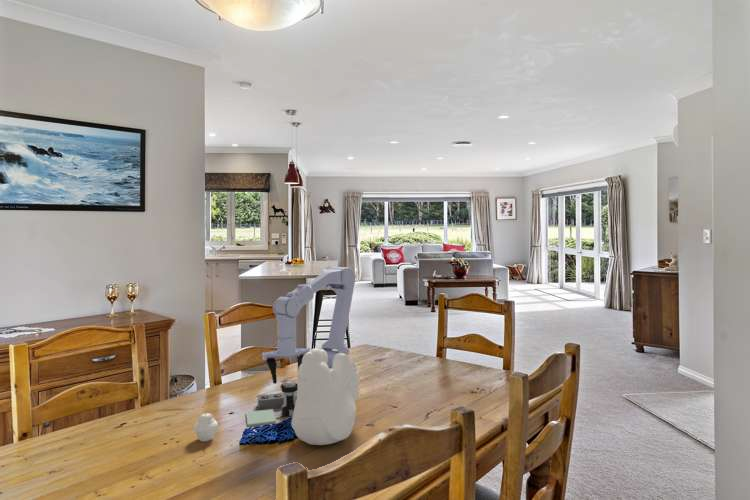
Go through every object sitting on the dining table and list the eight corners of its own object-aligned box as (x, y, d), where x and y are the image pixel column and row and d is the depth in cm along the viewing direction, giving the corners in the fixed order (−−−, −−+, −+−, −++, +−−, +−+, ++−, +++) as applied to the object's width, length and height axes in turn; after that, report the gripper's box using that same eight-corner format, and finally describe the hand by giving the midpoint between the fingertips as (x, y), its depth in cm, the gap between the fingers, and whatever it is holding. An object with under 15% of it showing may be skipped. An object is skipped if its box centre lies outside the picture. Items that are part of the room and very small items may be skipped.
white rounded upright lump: (316, 461, 112) (315, 358, 111) (278, 441, 123) (277, 348, 122) (386, 430, 130) (385, 341, 129) (347, 415, 141) (347, 334, 140)
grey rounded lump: (195, 445, 121) (194, 419, 121) (192, 437, 126) (192, 411, 126) (220, 441, 124) (219, 414, 123) (216, 432, 129) (216, 407, 129)
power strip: (313, 398, 156) (312, 387, 156) (315, 403, 151) (315, 392, 151) (257, 404, 150) (257, 393, 150) (259, 410, 146) (258, 398, 146)
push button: (279, 420, 138) (279, 386, 137) (274, 414, 142) (273, 381, 142) (301, 415, 141) (300, 383, 141) (295, 410, 145) (294, 378, 145)
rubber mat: (272, 410, 145) (272, 408, 145) (276, 422, 135) (276, 420, 135) (246, 413, 143) (246, 412, 143) (247, 426, 133) (247, 424, 133)
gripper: (306, 332, 147) (307, 374, 148) (260, 336, 142) (260, 380, 142) (312, 336, 141) (313, 380, 141) (264, 340, 135) (264, 387, 136)
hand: (287, 381), depth 141 cm, fingers open, 7 cm apart
